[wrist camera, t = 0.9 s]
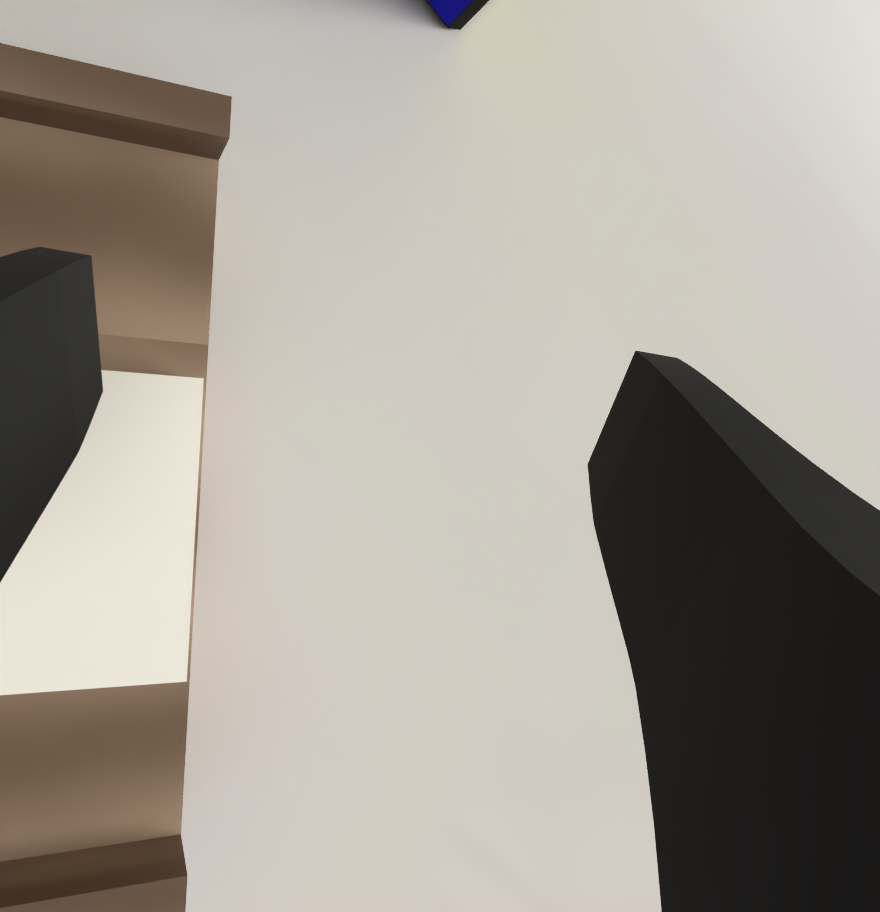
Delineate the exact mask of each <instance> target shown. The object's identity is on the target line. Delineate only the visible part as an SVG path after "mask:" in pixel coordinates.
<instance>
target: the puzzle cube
mask: <svg viewBox="0 0 880 912" xmlns="http://www.w3.org/2000/svg"><path fill="white" fill-rule="evenodd" d="M427 1H428V3H429V4H430V5H431V6H432V8H433V9H434V10H435V11H436V13H437V14H438V15H439V17H440V18H441V19H442V20H443V22H444V23H445V24H446V26H447V27H448V28H453V29H459V30H460V29H461V28H462V27H463V26H464V25H465V24H466V23H467V22H468V21H469V20H470V19H471V18H472V17H473V16H474V15H475V14H476V13H477V12H478V11H479V10H480V9H481V8H482V7H483V6H484V5H485V4H486V3H487V2H488V1H489V0H427Z"/></svg>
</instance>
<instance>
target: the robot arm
mask: <svg viewBox="0 0 880 912" xmlns="http://www.w3.org/2000/svg"><path fill="white" fill-rule="evenodd" d="M102 393H103V384H102V372H101V361H100V349H99V337H98V326H97V314H96V303H95V291H94V280H93V268H92V256H91V255H85V254H79V253H74V252H68V251H62V250H57V249H51V248H45V247H36V248H31V249H26V250H22V251H19V252H15V253H12V254H9V255H5V256H2V257H0V582H1V581H2V579H3V577H4V576H5V574H6V572H7V571H8V569H9V567H10V566H11V564H12V562H13V561H14V559H15V557H16V556H17V554H18V553H19V551H20V549H21V548H22V546H23V544H24V543H25V541H26V539H27V538H28V536H29V534H30V533H31V531H32V529H33V528H34V526H35V525H36V523H37V521H38V520H39V518H40V516H41V515H42V513H43V511H44V510H45V508H46V506H47V505H48V503H49V501H50V500H51V498H52V497H53V495H54V493H55V491H56V490H57V488H58V486H59V485H60V483H61V481H62V480H63V478H64V476H65V475H66V473H67V471H68V470H69V468H70V466H71V464H72V463H73V461H74V459H75V457H76V456H77V454H78V452H79V450H80V448H81V445H82V443H83V441H84V438H85V436H86V434H87V431H88V429H89V426H90V424H91V421H92V419H93V416H94V414H95V411H96V408H97V406H98V403H99V400H100V398H101V395H102ZM588 472H589V484H590V495H591V504H592V512H593V520H594V526H595V530H596V534H597V538H598V542H599V546H600V550H601V554H602V558H603V561H604V565H605V569H606V573H607V577H608V580H609V584H610V588H611V592H612V595H613V599H614V603H615V606H616V610H617V614H618V618H619V621H620V625H621V629H622V632H623V636H624V640H625V644H626V647H627V651H628V655H629V659H630V663H631V668H632V673H633V677H634V682H635V686H636V692H637V699H638V706H639V713H640V719H641V726H642V733H643V739H644V746H645V753H646V761H647V769H648V778H649V786H650V794H651V803H652V811H653V819H654V828H655V840H656V851H657V862H658V874H659V885H660V896H661V907H662V912H880V511H879V510H878V509H876V508H875V507H874V506H872V505H871V504H869V503H868V502H866V501H865V500H863V499H862V498H860V497H859V496H857V495H856V494H855V493H853V492H852V491H850V490H849V489H848V488H846V487H845V486H844V485H842V484H841V483H839V482H838V481H837V480H835V479H834V478H833V477H831V476H830V475H829V474H827V473H826V472H824V471H823V470H822V469H820V468H819V467H818V466H816V465H815V464H814V463H812V462H811V461H810V460H808V459H807V458H806V457H805V456H803V455H802V454H801V453H799V452H798V451H797V450H796V449H794V448H793V447H792V446H790V445H789V444H788V443H787V442H785V441H784V440H783V439H782V438H780V437H779V436H778V435H777V434H775V433H774V432H773V431H772V430H770V429H769V428H768V427H767V426H765V425H764V424H763V423H762V422H761V421H759V420H758V419H757V418H756V417H754V416H753V415H752V414H751V413H750V412H748V411H747V410H746V409H745V408H743V407H742V406H741V405H740V404H739V403H737V402H736V401H735V400H734V399H732V398H731V397H730V396H729V395H728V394H726V393H725V392H724V391H723V390H721V389H720V388H719V387H718V386H716V385H715V384H714V383H712V382H711V381H710V380H709V379H707V378H706V377H705V376H703V375H702V374H701V373H699V372H698V371H697V370H695V369H694V368H692V367H691V366H689V365H688V364H686V363H685V362H683V361H681V360H680V359H678V358H674V357H668V356H663V355H657V354H651V353H645V352H640V351H635V353H634V356H633V358H632V360H631V363H630V365H629V368H628V370H627V372H626V375H625V377H624V379H623V382H622V384H621V387H620V389H619V391H618V394H617V396H616V398H615V401H614V403H613V406H612V408H611V410H610V413H609V415H608V417H607V420H606V422H605V425H604V427H603V429H602V432H601V434H600V436H599V439H598V441H597V444H596V446H595V448H594V451H593V453H592V455H591V458H590V460H589V463H588Z"/></svg>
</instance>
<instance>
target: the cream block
mask: <svg viewBox="0 0 880 912" xmlns="http://www.w3.org/2000/svg"><path fill="white" fill-rule="evenodd" d="M101 372H102V384H103V393H102V395H101V398H100V400H99V403H98V406H97V408H96V411H95V414H94V416H93V419H92V421H91V424H90V426H89V429H88V431H87V434H86V436H85V438H84V441H83V443H82V445H81V448H80V450H79V452H78V454H77V456H76V457H75V459H74V461H73V463H72V464H71V466H70V468H69V470H68V471H67V473H66V475H65V476H64V478H63V480H62V481H61V483H60V485H59V486H58V488H57V490H56V491H55V493H54V495H53V497H52V498H51V500H50V501H49V503H48V505H47V506H46V508H45V510H44V511H43V513H42V515H41V516H40V518H39V520H38V521H37V523H36V525H35V526H34V528H33V529H32V531H31V533H30V534H29V536H28V538H27V539H26V541H25V543H24V544H23V546H22V548H21V549H20V551H19V553H18V554H17V556H16V557H15V559H14V561H13V562H12V564H11V566H10V567H9V569H8V571H7V572H6V574H5V576H4V577H3V579H2V581H1V582H0V695H12V694H25V693H39V692H53V691H66V690H80V689H93V688H107V687H121V686H134V685H148V684H162V683H175V682H187V668H188V650H189V633H190V615H191V597H192V579H193V561H194V543H195V525H196V508H197V490H198V472H199V454H200V436H201V418H202V400H203V383H204V378H193V377H181V376H169V375H157V374H145V373H132V372H120V371H108V370H101Z"/></svg>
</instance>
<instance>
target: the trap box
mask: <svg viewBox="0 0 880 912" xmlns="http://www.w3.org/2000/svg"><path fill="white" fill-rule="evenodd" d="M231 98H232V97H231V96H226V95H222V94H218V93H213V92H209V91H205V90H200V89H196V88H192V87H187V86H183V85H179V84H174V83H170V82H166V81H161V80H157V79H153V78H148V77H144V76H140V75H136V74H131V73H127V72H123V71H118V70H114V69H110V68H105V67H101V66H97V65H92V64H88V63H84V62H79V61H75V60H71V59H66V58H62V57H58V56H53V55H49V54H45V53H40V52H36V51H32V50H27V49H23V48H19V47H15V46H10V45H6V44H2V43H0V257H2V256H5V255H9V254H12V253H15V252H19V251H22V250H26V249H31V248H36V247H45V248H51V249H57V250H62V251H68V252H74V253H79V254H85V255H91V256H92V268H93V280H94V291H95V303H96V314H97V326H98V337H99V349H100V361H101V370H108V371H120V372H132V373H145V374H157V375H169V376H181V377H193V378H204V383H203V400H202V418H201V436H200V454H199V472H198V490H197V508H196V525H195V543H194V561H193V579H192V597H191V615H190V633H189V650H188V668H187V682H175V683H162V684H148V685H134V686H121V687H107V688H93V689H80V690H66V691H53V692H39V693H25V694H12V695H0V912H185V906H186V888H187V871H186V865H185V858H184V852H183V846H182V839H181V821H182V803H183V785H184V767H185V750H186V732H187V714H188V696H189V678H190V661H191V643H192V625H193V607H194V589H195V572H196V554H197V536H198V518H199V500H200V483H201V465H202V447H203V429H204V411H205V394H206V376H207V358H208V340H209V322H210V305H211V287H212V269H213V251H214V233H215V216H216V198H217V180H218V162H219V158H220V156H221V154H222V152H223V150H224V148H225V146H226V144H227V142H228V140H229V133H230V115H231Z"/></svg>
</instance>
